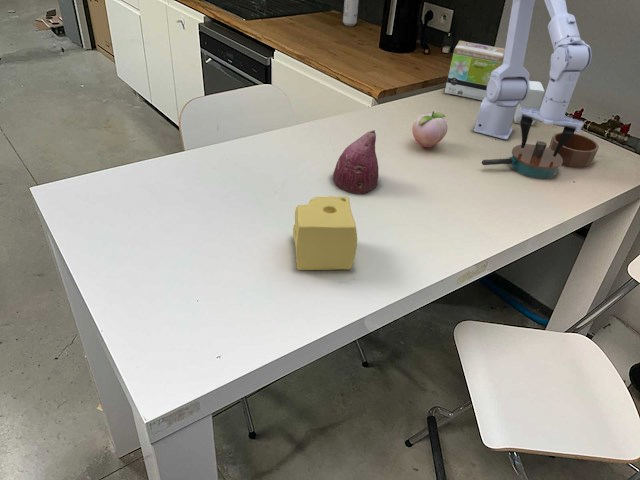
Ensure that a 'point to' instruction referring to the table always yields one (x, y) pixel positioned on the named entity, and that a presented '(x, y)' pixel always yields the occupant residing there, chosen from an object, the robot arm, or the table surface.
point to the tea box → (472, 69)
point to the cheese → (325, 234)
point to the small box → (531, 99)
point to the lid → (537, 156)
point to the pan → (534, 171)
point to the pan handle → (500, 161)
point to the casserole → (576, 150)
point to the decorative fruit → (429, 129)
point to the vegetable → (358, 166)
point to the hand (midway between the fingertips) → (538, 150)
